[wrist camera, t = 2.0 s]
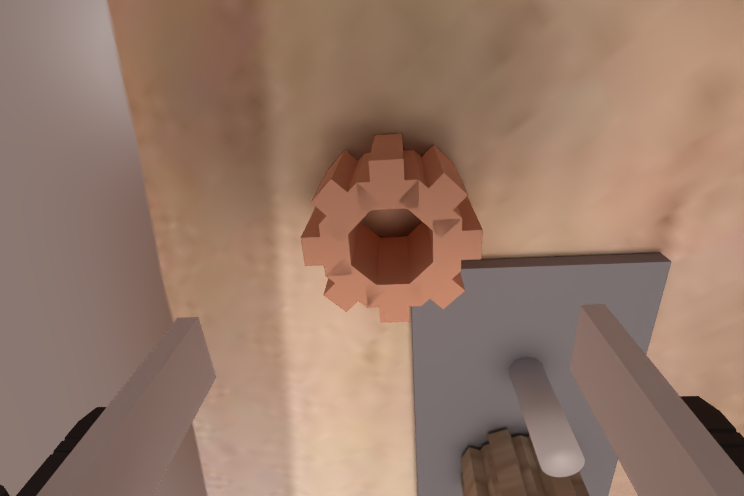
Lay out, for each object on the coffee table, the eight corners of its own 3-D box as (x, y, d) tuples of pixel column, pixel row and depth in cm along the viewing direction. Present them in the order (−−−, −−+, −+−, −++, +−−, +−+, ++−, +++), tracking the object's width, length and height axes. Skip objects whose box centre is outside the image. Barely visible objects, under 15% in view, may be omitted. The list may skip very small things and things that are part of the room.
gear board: (409, 262, 28) (414, 345, 20) (660, 252, 27) (766, 337, 19) (418, 507, 39) (423, 619, 32) (595, 508, 38) (645, 626, 31)
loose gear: (312, 138, 25) (289, 165, 20) (466, 129, 24) (486, 154, 19) (329, 271, 29) (314, 324, 23) (462, 266, 28) (478, 319, 23)
